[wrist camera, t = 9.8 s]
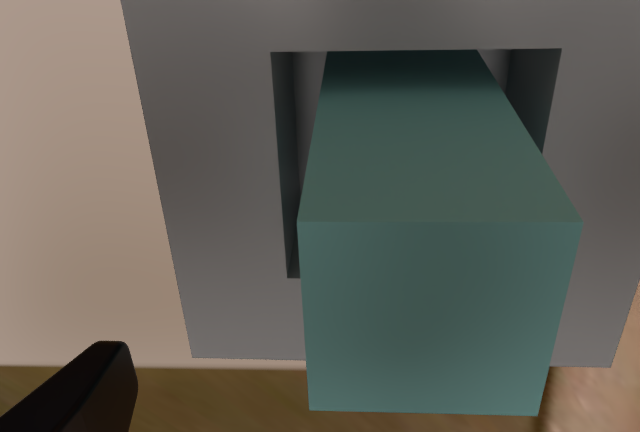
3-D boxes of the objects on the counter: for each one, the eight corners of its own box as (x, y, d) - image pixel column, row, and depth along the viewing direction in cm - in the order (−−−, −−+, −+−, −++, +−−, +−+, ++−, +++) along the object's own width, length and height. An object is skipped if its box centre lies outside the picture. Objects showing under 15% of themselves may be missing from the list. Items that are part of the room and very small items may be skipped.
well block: (562, 271, 20) (610, 367, 16) (223, 266, 21) (192, 357, 17) (659, -131, 14) (773, -128, 10) (167, -115, 15) (99, -107, 11)
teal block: (461, 176, 18) (537, 415, 10) (331, 177, 18) (309, 410, 10) (474, 45, 16) (584, 222, 8) (327, 48, 16) (297, 221, 8)
